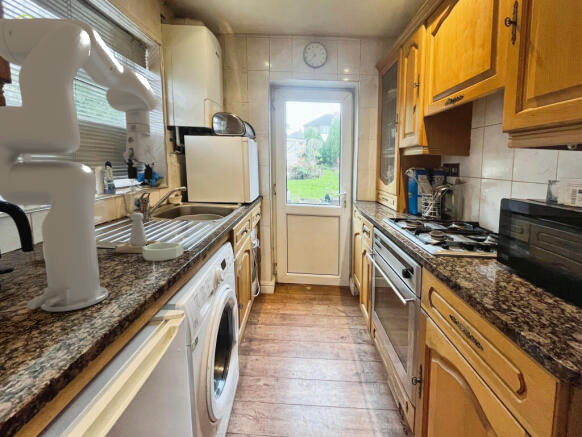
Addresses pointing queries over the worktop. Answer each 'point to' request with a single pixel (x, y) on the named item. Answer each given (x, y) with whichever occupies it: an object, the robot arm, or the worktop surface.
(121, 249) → the tray
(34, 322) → the worktop surface
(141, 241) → the salt shaker
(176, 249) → the holder ring
